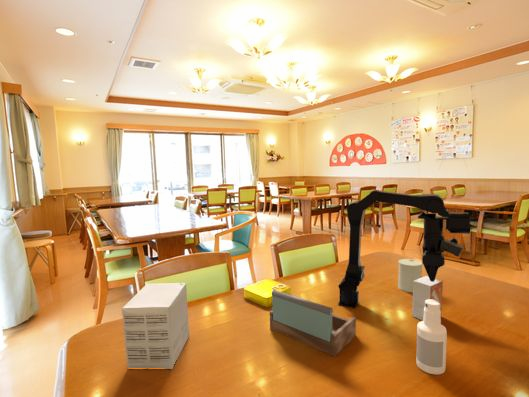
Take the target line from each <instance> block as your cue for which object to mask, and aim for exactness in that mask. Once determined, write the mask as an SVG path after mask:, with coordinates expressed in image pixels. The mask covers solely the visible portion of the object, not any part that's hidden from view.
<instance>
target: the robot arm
mask: <svg viewBox="0 0 529 397" xmlns="http://www.w3.org/2000/svg"><path fill="white" fill-rule="evenodd" d="M376 202H377V203H378V202H379V203H385V204H393V205H398V206H399V205H400V206H401V205H402V206H407V207H412V208H416V209H419V210H420V211H421V213H420V214H418V215H417V219H421V220H423V237H422V238H423V240H422V241H423V242H422V247H421V248H422V254H421V257H422V258H421V262H422V266H423V267H424V269H425V272H426V274H427V276H428V277H429V279H430V281H431V282H434V281H435V279H436V276H437V273H438V271H439V268H441V267H444V265H446V264H445V263H446V262H445V260H446V257H445V255H443V254H444V252H446V253H448V254H452V255H453V256H455V257H457V258H459V257H460V255H461V253H462V252H463V249H464V247H463V245H462V244H461V243H458V239H457V238H455V237H452V238H450V239H446V238H445V237H444V236H445V235H444V229H445V230H446V231H447V232H448V233H449V234H463V235H464V234H465V235H470V233H471V219H470V213H469V212H450V211H449V209H447V208H446V206H445V202H444V200H443V198H442V197H441V196H440V195H439V194H437V193H424V194H423V193H422V194H409V193H401V192H392V191H386V190H385V191H384V190H379V189H373V190H372V191H370V193H368V195H366V196H365V197H363V198H362V199H360V200H355V201H354V202H353V201H352V203H350V204H348V206H347V208H346V213H347V214H346V215H347V221H348V224H349V246H348V247H349V248H348V264H347V266H346V270H345V274H344V277H343V278H342V280H341V281H340V283H339V284H338V289H339V301H338V303H337V304H338V306H344V307H349V308H356V307H357V305H358V304H359V301H360V292H359V290H358V287H359V286H360V284H361V283H362V281H363V280H364V278H365V276H366V274H365V268H366V265H362V263H361V251H362V250H361V246H362V245H361V244H362V227H363V226H362V225H363V222H364V219H365V216H366V215H365V214H366V211H367V209H368V208H369V207H371V206H373V205H374V204H376ZM426 212H427V213H426ZM436 214H437V215H436ZM444 220H445V221H444ZM444 222H445V223H444ZM444 225H445V226H444Z"/></svg>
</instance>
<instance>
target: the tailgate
mask: <svg viewBox="0 0 529 397" xmlns="http://www.w3.org/2000/svg"><path fill="white" fill-rule="evenodd" d="M271 294H272V302H273V306H272V310H273V320H275V321H278V322H280V323H283V324H285V325H288V326H290V327H293V328H295V329H298V330H300V331H303V332H305V333H308V334H310V335H313V336H315V337H318V338H321V339H323V340H326V341H328V342H331V341H332V314H333V313H334V308H332V307H329V306H326V305H325V304H320V303H317V302H314V301H311V300H308V299H305V298H301V297H298V296H295V295H292V294H291V295H289V294H286V293H283V292H280V291H276V290H273V291H272V293H271Z"/></svg>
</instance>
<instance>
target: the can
mask: <svg viewBox="0 0 529 397" xmlns="http://www.w3.org/2000/svg"><path fill="white" fill-rule="evenodd" d="M422 269H423V263H422V261H420V260H417V259H413V258H401V259H399V260H398V283H397V284H398V285H397V288H398V289H399V290H401V291H403V292H405V293H411V294H413V281H414V280H417V279H419V278H422V277H423V276H422V274H423V270H422Z"/></svg>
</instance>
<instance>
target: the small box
mask: <svg viewBox="0 0 529 397" xmlns="http://www.w3.org/2000/svg"><path fill="white" fill-rule="evenodd" d="M443 288H444V280H441V279H437V278H435V281H434V282H431V281H430V279H429V276H428V275H425V276H422V278H419V279H417V280H414V281H413V293H412V310H411V313H412V314H411V315H412V317H414V318H416V319H418V320H421V321H423V316H424V308H425V300H427V299H433V300H435V301H436V302H438V303H439V304H440V311H441V316H442V309H443Z"/></svg>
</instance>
